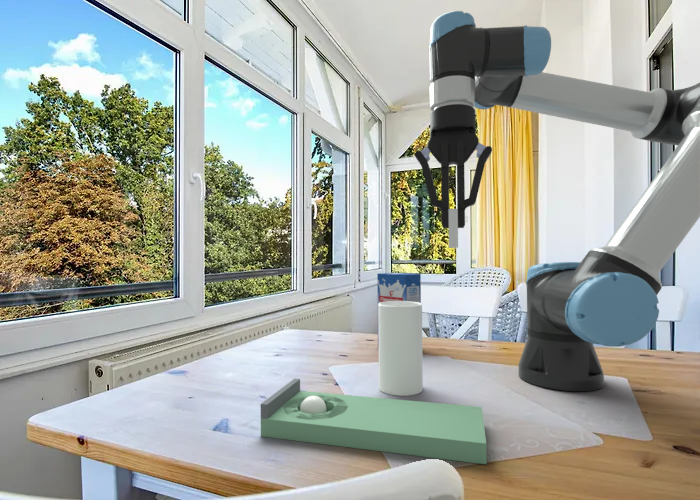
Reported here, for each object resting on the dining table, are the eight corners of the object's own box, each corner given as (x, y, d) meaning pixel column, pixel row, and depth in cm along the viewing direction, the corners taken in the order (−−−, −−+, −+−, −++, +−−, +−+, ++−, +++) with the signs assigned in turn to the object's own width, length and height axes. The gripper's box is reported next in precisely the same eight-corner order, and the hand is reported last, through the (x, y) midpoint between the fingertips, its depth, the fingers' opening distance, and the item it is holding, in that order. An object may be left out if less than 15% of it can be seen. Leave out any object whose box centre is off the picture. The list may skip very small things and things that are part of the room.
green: (481, 423, 60) (481, 393, 61) (486, 464, 49) (486, 426, 49) (294, 405, 68) (294, 378, 68) (260, 436, 57) (260, 404, 57)
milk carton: (377, 347, 110) (377, 273, 111) (392, 343, 115) (392, 272, 115) (406, 353, 103) (405, 274, 103) (421, 349, 107) (420, 273, 108)
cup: (412, 398, 71) (411, 307, 71) (371, 390, 75) (370, 304, 76) (429, 385, 78) (428, 302, 78) (390, 379, 82) (390, 300, 83)
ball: (307, 400, 64) (304, 427, 62) (297, 393, 61) (294, 421, 59) (330, 399, 63) (329, 426, 61) (321, 391, 60) (319, 420, 58)
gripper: (490, 113, 72) (492, 247, 71) (416, 120, 75) (417, 248, 75) (494, 97, 64) (495, 246, 64) (411, 106, 68) (412, 247, 68)
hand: (453, 247), depth 69 cm, fingers closed
